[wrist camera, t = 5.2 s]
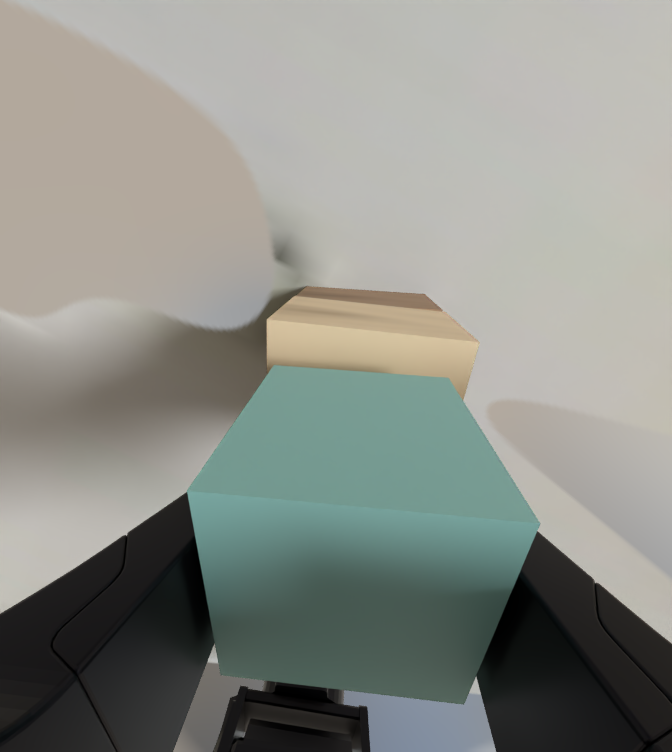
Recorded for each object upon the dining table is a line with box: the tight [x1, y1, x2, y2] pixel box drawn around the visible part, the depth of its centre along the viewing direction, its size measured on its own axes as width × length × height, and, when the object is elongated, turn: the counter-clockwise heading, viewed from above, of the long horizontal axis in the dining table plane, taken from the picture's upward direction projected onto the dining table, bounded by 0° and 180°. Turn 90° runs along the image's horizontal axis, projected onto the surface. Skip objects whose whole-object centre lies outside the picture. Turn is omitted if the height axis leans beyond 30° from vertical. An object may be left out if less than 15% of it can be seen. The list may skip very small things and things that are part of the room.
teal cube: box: [187, 365, 540, 704], centre depth 7 cm, size 4×4×4 cm
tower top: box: [267, 296, 480, 400], centre depth 12 cm, size 6×6×4 cm
